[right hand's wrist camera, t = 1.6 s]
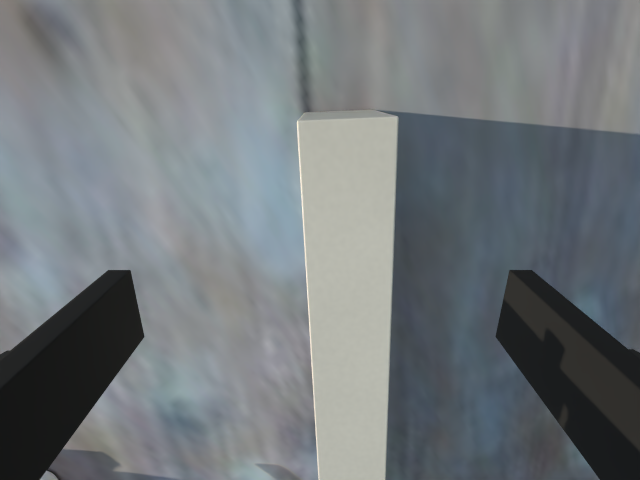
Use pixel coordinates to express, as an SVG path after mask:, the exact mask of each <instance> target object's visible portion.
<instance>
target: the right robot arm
mask: <svg viewBox="0 0 640 480" xmlns="http://www.w3.org/2000/svg"><path fill="white" fill-rule="evenodd" d="M143 338H144V333H143V328H142V323H141V318H140V314H139V309H138V304H137V299H136V295H135V290H134V285H133V280H132V275H131V271H130V270H108V271H107V272H106V273H104V274H103V275H102V276H101V277H99V278H98V279H97V280H96V281H95V282H93V283H92V284H91V285H90V286H88V287H87V288H86V289H85V290H84V291H82V292H81V293H80V294H79V295H78V296H76V297H75V298H74V299H73V300H71V301H70V302H69V303H68V304H67V305H65V306H64V307H63V308H62V309H60V310H59V311H58V312H57V313H56V314H54V315H53V316H52V317H51V318H50V319H48V320H47V321H46V322H45V323H43V324H42V325H41V326H40V327H39V328H37V329H36V330H35V331H34V332H32V333H31V334H30V335H29V336H28V337H26V338H25V339H24V340H23V341H22V342H20V343H19V344H18V345H17V346H15V347H14V348H13V349H12V350H11V351H6V352H4V353H2V354H0V480H40V479H41V477H42V476H43V475H44V473H45V472H46V471H47V469H48V468H49V467H50V465H51V464H52V462H53V461H54V460H55V458H56V457H57V456H58V454H59V453H60V451H61V450H62V449H63V447H64V446H65V445H66V443H67V442H68V441H69V439H70V438H71V436H72V435H73V434H74V432H75V431H76V430H77V428H78V427H79V425H80V424H81V423H82V421H83V420H84V419H85V417H86V416H87V414H88V413H89V412H90V410H91V409H92V408H93V406H94V405H95V404H96V402H97V401H98V399H99V398H100V397H101V395H102V394H103V393H104V391H105V390H106V388H107V387H108V386H109V384H110V383H111V382H112V380H113V379H114V378H115V376H116V375H117V373H118V372H119V371H120V369H121V368H122V367H123V365H124V364H125V362H126V361H127V360H128V358H129V357H130V356H131V354H132V353H133V352H134V350H135V349H136V347H137V346H138V345H139V343H140V342H141V341H142V339H143ZM496 338H497V339H498V341H499V342H500V343H501V345H502V346H503V347H504V349H505V350H506V352H507V353H508V354H509V356H510V357H511V358H512V360H513V361H514V362H515V364H516V365H517V367H518V368H519V369H520V371H521V372H522V373H523V375H524V376H525V378H526V379H527V380H528V382H529V383H530V384H531V386H532V387H533V388H534V390H535V391H536V393H537V394H538V395H539V397H540V398H541V399H542V401H543V402H544V404H545V405H546V406H547V408H548V409H549V410H550V412H551V413H552V414H553V416H554V417H555V419H556V420H557V421H558V423H559V424H560V425H561V427H562V428H563V430H564V431H565V432H566V434H567V435H568V436H569V438H570V439H571V441H572V442H573V443H574V445H575V446H576V447H577V449H578V450H579V451H580V453H581V454H582V456H583V457H584V458H585V460H586V461H587V462H588V464H589V465H590V467H591V468H592V469H593V471H594V472H595V473H596V475H597V476H598V477H599V479H600V480H640V353H639V352H637V351H635V350H633V349H627V348H626V347H625V346H623V345H622V344H621V343H620V342H618V341H617V340H616V339H615V338H614V337H612V336H611V335H610V334H609V333H608V332H606V331H605V330H604V329H603V328H601V327H600V326H599V325H598V324H597V323H595V322H594V321H593V320H592V319H590V318H589V317H588V316H587V315H586V314H584V313H583V312H582V311H581V310H580V309H578V308H577V307H576V306H575V305H573V304H572V303H571V302H570V301H569V300H567V299H566V298H565V297H564V296H562V295H561V294H560V293H559V292H558V291H556V290H555V289H554V288H553V287H552V286H550V285H549V284H548V283H547V282H545V281H544V280H543V279H542V278H541V277H539V276H538V275H537V274H536V273H534V272H533V271H532V270H510V271H509V275H508V280H507V285H506V290H505V295H504V299H503V304H502V309H501V314H500V318H499V323H498V328H497V333H496Z"/></svg>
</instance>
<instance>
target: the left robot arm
mask: <svg viewBox="0 0 640 480" xmlns="http://www.w3.org/2000/svg"><path fill="white" fill-rule="evenodd" d="M40 480H58V479H57V477H56V476H55V475H54V474H53V473H51V472H49V471H46V472H45V473H44V475H43V476H42V477H41V479H40Z"/></svg>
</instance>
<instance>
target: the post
mask: <svg viewBox="0 0 640 480" xmlns="http://www.w3.org/2000/svg"><path fill="white" fill-rule="evenodd" d="M398 122H399V118H398V116H394V115H391V114H387V113H384V112H380V111H376V110H373V109H372V110H349V111H326V112H305V113H304V114H303V115H302V116H301V118H300V119H299V120H298V121H297V132H298V148H299V164H300V181H301V197H302V213H303V230H304V246H305V263H306V279H307V295H308V312H309V328H310V344H311V361H312V377H313V394H314V410H315V426H316V443H317V459H318V475H319V480H386V456H387V428H388V400H389V372H390V345H391V317H392V289H393V261H394V233H395V206H396V178H397V150H398Z"/></svg>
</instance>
